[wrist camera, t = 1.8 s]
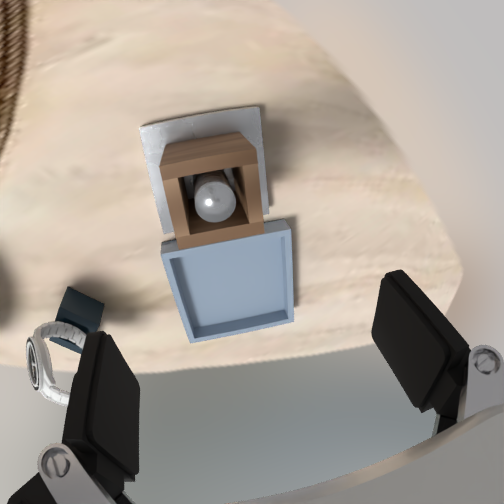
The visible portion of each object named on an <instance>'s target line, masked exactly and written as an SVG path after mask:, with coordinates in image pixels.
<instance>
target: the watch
mask: <svg viewBox="0 0 504 504" xmlns="http://www.w3.org/2000/svg"><path fill="white" fill-rule="evenodd" d="M103 308H104V303H102V302H99V301H97V300H95V299H93V298H91V297H89V296H86V295H84V294H82V293H80V292H78V291H76V290H74V289H72V288H70V287H67V290H66V292H65V294H64V297H63V299H62V301H61V304H60V307H59V310H58V313H57V316H56V319H55V321H52V322H48V323H44V324H42V325H41V326H39V327H38V328H36V329H35V331H34V335H33V337H28V339H27V344H26V359H27V367H28V372H29V376H30V380H31V383H32V385H33V387H34V389H35V390H36V391H37V392H41V393H42V394H43V396H44V397H45V398H46V399H49V400H50V401H52V402H54V403H56V402H57V404H59V405H62V406H68V402H69V397H70V393H69V392H67V391H64V390H61V392H60V389H59V388H57V387H55V386H54V385H56V383H55V380H54V378H53V376H52V364H51V358H50V354H49V350H48V348H47V345H46V343H45V341H44V340H43V339H44V338H49V337H50V339H49V340H50V341H52V342H54V343H57V344H59V345H61V346H63V347H66V348H68V349H70V350H72V351H75V352H77V353H80V354H82V350H83V346H84V342H85V338H86V335H87V334H88V333H91V332H96V331H97V329H98V327H99V325H100V321H101V317H102V312H103ZM61 397H62V398H61Z"/></svg>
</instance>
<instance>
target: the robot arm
mask: <svg viewBox="0 0 504 504" xmlns="http://www.w3.org/2000/svg"><path fill="white" fill-rule="evenodd" d="M371 333H372V338H373V340H374V342H375V343H376V345H377V347H378V348H379V350H380V351H381V353H382V354H383V356H384V358H385V359H386V361H387V363H388V364H389V366H390V368H391V369H392V371H393V373H394V374H395V376H396V377H397V379H398V381H399V382H400V384H401V386H402V387H403V389H404V391H405V392H406V394H407V395H408V397H409V399H410V401H411V402H412V404H413V406H414V407H417V408H419V409H420V411H421V413H423V412H425V411H427V410H429V409H431V408H434V409H435V411H436V419H435V423H434V428H433V433H432V437H431V438H429V439H427V440H425V441H423V442H421V443H419V444H417V445H416V446H413V447H411V448H409V449H407V450H405V451H403V452H401V453H398V454H396V455H394V456H392V457H389V458H387V459H385V460H383V461H380V462H378V463H375V464H373V465H371V466H368V467H365V468H363V469H360V470H357V471H354V472H352V473H349V474H346V475H343V476H340V477H337V478H334V479H331V480H328V481H325V482H322V483H318V484H315V485H312V486H308V487H304V488H301V489H297V490H293V491H289V492H285V493H281V494H276V495H272V496H267V497H262V498H257V499H252V500H247V501H240V502H234V503H227V504H504V361H503V358H502V356H501V354H500V353H499V352H498V351H497V350H496V349H494V348H493V347H490V346H487V345H479V346H476V347H475V348H473V349H472V350H470V349H469V345H468V344H467V342H466V341H465V340H464V339H463V337H462V336H461V335H460V334H459V333H458V331H457V330H456V329H455V328H454V327H453V326H452V324H451V323H450V322H449V321H448V320H447V318H446V317H445V316H444V315H443V314H442V313H441V312H440V310H439V309H438V308H437V307H436V306H435V305H434V304H433V302H432V301H431V300H430V299H429V298H428V297H427V296H426V295H425V294H424V292H423V291H422V290H421V289H420V288H419V287H418V286H417V285H416V284H415V283H414V282H413V281H412V279H411V278H410V277H409V276H408V275H407V274H406V273H405V272H404V271H403V270H396V271H392V272H388V273H386V274H385V277H384V278H383V279H382V280H381V285H380V290H379V296H378V301H377V307H376V312H375V317H374V322H373V326H372V332H371ZM139 403H140V387H139V383H138V381H137V379H136V378H135V376H134V374H133V373H132V371H131V369H130V368H129V366H128V364H127V363H126V361H125V359H124V358H123V356H122V354H121V352H120V351H119V349H118V347H117V345H116V344H115V342H114V340H113V338H112V337H111V335H110V334H108V335H107V334H106V333H105V332H104V331H98V332H91V333H88V334H87V335H86V338H85V342H84V346H83V350H82V354H81V358H80V362H79V367H78V371H77V373H76V374H75V376H74V378H73V382H72V387H71V392H70V397H69V402H68V407H67V413H66V419H65V425H64V431H63V437H62V444H60V443H54V444H50V445H48V446H46V447H45V448H44V449H43V450H42V451H41V453H40V455H39V457H38V470H39V472H38V473H37V474H36V475H35V476H34V477H33V478H32V479H30V480H29V481H28V482H27V483H26V484H25V485H23V486H22V487H21V488H20V489H19V490H18V491H16V492H15V493H14V494H13V495H12V496H11V497H10V498H9V500H8V503H7V504H136V503H135V502H134V501H133V500H132V499H131V498H130V497H129V496H128V495H127V494H126V492H125V491H124V482H132V481H133V482H134V481H135V475H136V474H138V473H139Z"/></svg>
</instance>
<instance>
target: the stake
mask: <svg viewBox="0 0 504 504" xmlns="http://www.w3.org/2000/svg"><path fill="white" fill-rule="evenodd" d="M139 131H140V136H141V140H142V145H143V150H144V155H145V159H146V164H147V168H148V173H149V177H150V181H151V185H152V190H153V194H154V198H155V202H156V206H157V210H158V214H159V218H160V222H161V225H162V229H163V233H164V234H166V233H171V232H174V229H173V225H172V221H171V217H170V212H169V208H168V204H167V200H166V195H165V191H164V187H163V182H162V178H161V173H160V168H159V165H160V161H161V158H162V154H163V151H164V148H165V145H167V144H172V143H177V142H182V141H187V140H192V139H197V138H203V137H209V136H215V135H221V134H227V133H234V132H240V133H241V134H242V135H243V136H244V137H245V138H246V139H247V140H248V141H249V142H250V143H251V144H252V145H253V146H254V147H255V148H256V150H257V160H258V169H259V179H260V190H261V200H262V210H263V215H265V214H269V203H268V192H267V181H266V170H265V159H264V148H263V138H262V128H261V118H260V108H259V107H258V106H251V107H243V108H235V109H228V110H221V111H215V112H209V113H203V114H197V115H191V116H186V117H181V118H176V119H171V120H166V121H161V122H157V123H152V124H148V125H144V126H141V127H140V128H139ZM184 181H185V186H186V191H187V196H188V199H192V198H194V199H195V208H196V211H197V213H198V215H199V216H200V217H201V218H202V219H204V220H206V221H208V222H221V221H224V220H225V219H227V218H228V217H230V216H231V214H232V213H233V212H234V210H235V206H236V199H235V196H234V193H233V191H235V185H234V178H233V170H232V168H227V169H221V170H215V171H210V172H204V173H199V174H194V175H189V176H184Z"/></svg>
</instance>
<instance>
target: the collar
mask: <svg viewBox="0 0 504 504" xmlns="http://www.w3.org/2000/svg"><path fill="white" fill-rule="evenodd" d="M159 168H160V173H161V178H162V182H163V187H164V191H165V195H166V200H167V204H168V208H169V212H170V217H171V221H172V225H173V229H174V233H175V237H176V241H177V244H178V248H179V250H181V249H186V248H191V247H196V246H201V245H206V244H211V243H217V242H222V241H227V240H232V239H237V238H242V237H248V236H253V235H258V234H264V233H265V231H264V221H263V210H262V200H261V190H260V179H259V169H258V160H257V150H256V148H255V147H254V146H253V145H252V144H251V143H250V142H249V141H248V140H247V139H246V138H245V137H244V136H243V135H242V134H241V133H240V132H234V133H227V134H221V135H215V136H209V137H203V138H197V139H192V140H187V141H182V142H177V143H172V144H167V145H165V148H164V151H163V154H162V158H161V161H160V165H159ZM227 168H232V170H233V178H234V185H235V191H233V193H234V196H235V199H236V206H235V210H234V212H233V213H232V214H231V216H230V217H228V218H227V219H225V220H224V221H221V222H208V221H206V220H204V219H202V218H201V217H200V216H199V215H198V213H197V211H196V208H195V199H194V198H192V199H188V196H187V191H186V186H185V181H184V176H189V175H194V174H199V173H204V172H210V171H215V170H221V169H227Z"/></svg>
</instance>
